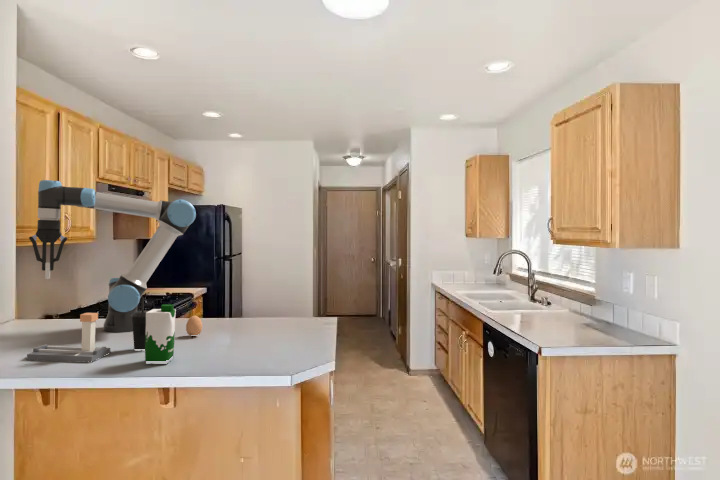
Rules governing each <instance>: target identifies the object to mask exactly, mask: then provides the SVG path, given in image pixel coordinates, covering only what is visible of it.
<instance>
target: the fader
mask: <svg viewBox="0 0 720 480" xmlns="http://www.w3.org/2000/svg"><path fill="white" fill-rule="evenodd" d="M79 316H80V317H79V322H82V323H81V324H82V325H81V347H82V348H81V351H94V350H95V347H96V325H97V324H96V323H97V321H98V320H99V312H84V313H81V314H79Z"/></svg>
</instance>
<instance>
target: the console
mask: <svg viewBox="0 0 720 480" xmlns="http://www.w3.org/2000/svg"><path fill="white" fill-rule="evenodd" d="M81 348H82V346H72V345H71V346H70V345H65V346H64V345H49V344H48V343H45V344H42V345H39V346H36V347H33V349H32V352H29V353H27V354H26V361H40V362H41V361H43V362H44V361H45V362H64V361H89V362H91V361H94V360H96V359H98V358H100V357H102V356H104V355H106V354H108V353H110V354H111V348H110V347H107V346H101V347H96V346H95V350H94V351H81ZM108 355H109V354H108ZM106 356H107V355H106ZM104 357H105V356H104ZM102 358H103V357H102ZM100 359H101V358H100ZM98 360H99V359H98ZM96 361H97V360H96ZM89 362H88V363H89ZM94 362H95V361H94Z"/></svg>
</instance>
